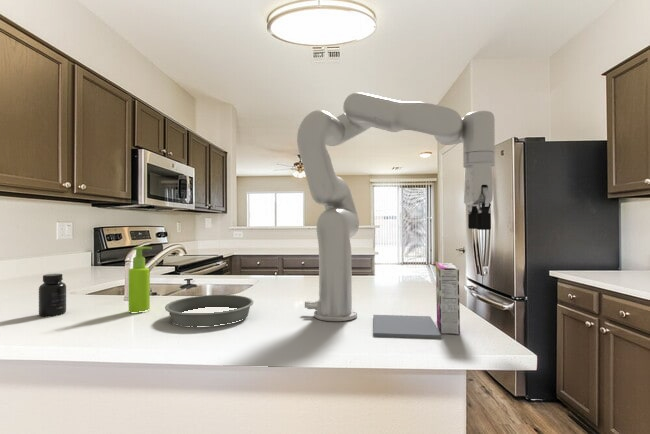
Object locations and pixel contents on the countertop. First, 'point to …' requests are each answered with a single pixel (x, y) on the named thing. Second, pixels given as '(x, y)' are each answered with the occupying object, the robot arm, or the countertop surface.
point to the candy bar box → (447, 298)
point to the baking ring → (209, 318)
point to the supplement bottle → (52, 296)
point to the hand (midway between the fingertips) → (479, 228)
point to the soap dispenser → (139, 283)
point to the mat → (405, 326)
